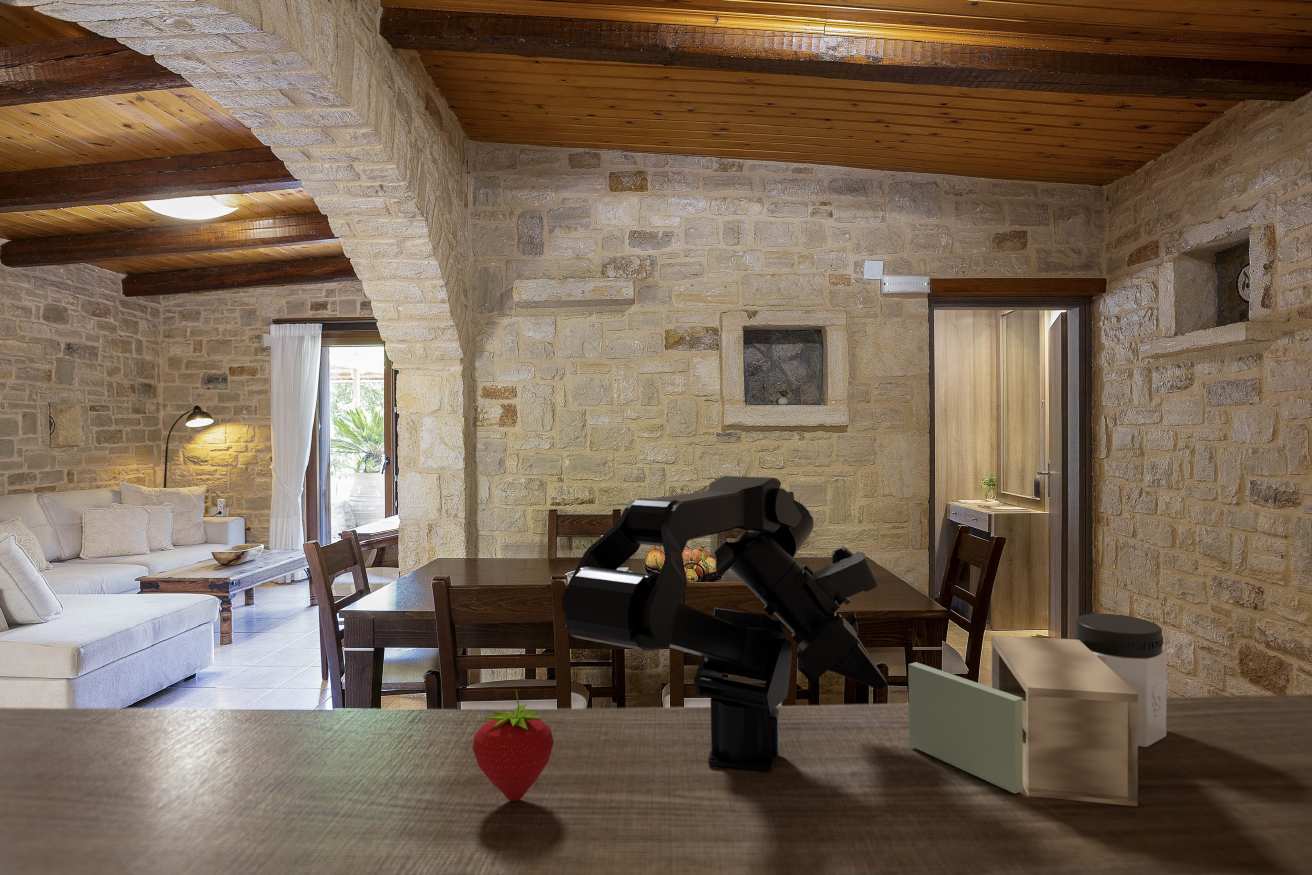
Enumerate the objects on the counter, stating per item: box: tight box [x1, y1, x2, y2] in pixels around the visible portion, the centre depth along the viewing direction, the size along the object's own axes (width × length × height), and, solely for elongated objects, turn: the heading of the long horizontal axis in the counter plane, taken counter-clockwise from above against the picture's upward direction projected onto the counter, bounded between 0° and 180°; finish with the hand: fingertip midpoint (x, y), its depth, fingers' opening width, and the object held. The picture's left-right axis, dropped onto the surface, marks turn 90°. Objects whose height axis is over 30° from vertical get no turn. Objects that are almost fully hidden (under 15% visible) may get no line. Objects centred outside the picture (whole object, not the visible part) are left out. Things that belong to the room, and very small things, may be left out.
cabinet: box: [990, 635, 1139, 807], centre depth 75 cm, size 9×16×10 cm, turn 167°
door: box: [907, 661, 1024, 794], centre depth 73 cm, size 1×12×9 cm, turn 32°
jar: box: [1075, 613, 1168, 748], centre depth 81 cm, size 9×8×12 cm
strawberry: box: [472, 690, 554, 802], centre depth 69 cm, size 6×8×10 cm
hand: (883, 686), depth 78 cm, fingers closed
